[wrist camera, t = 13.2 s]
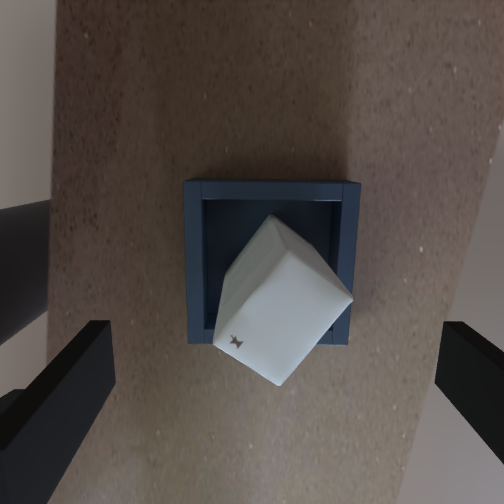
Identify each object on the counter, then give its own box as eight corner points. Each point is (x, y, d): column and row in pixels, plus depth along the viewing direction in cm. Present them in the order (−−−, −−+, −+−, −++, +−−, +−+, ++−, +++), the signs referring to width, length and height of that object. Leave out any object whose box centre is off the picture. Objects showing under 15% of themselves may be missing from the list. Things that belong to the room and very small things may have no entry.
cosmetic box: (267, 301, 30) (277, 391, 18) (224, 271, 29) (207, 345, 18) (314, 242, 29) (358, 299, 17) (271, 210, 28) (286, 245, 17)
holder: (194, 323, 31) (187, 343, 28) (191, 178, 28) (182, 180, 25) (336, 324, 31) (348, 345, 28) (347, 180, 28) (361, 183, 25)
